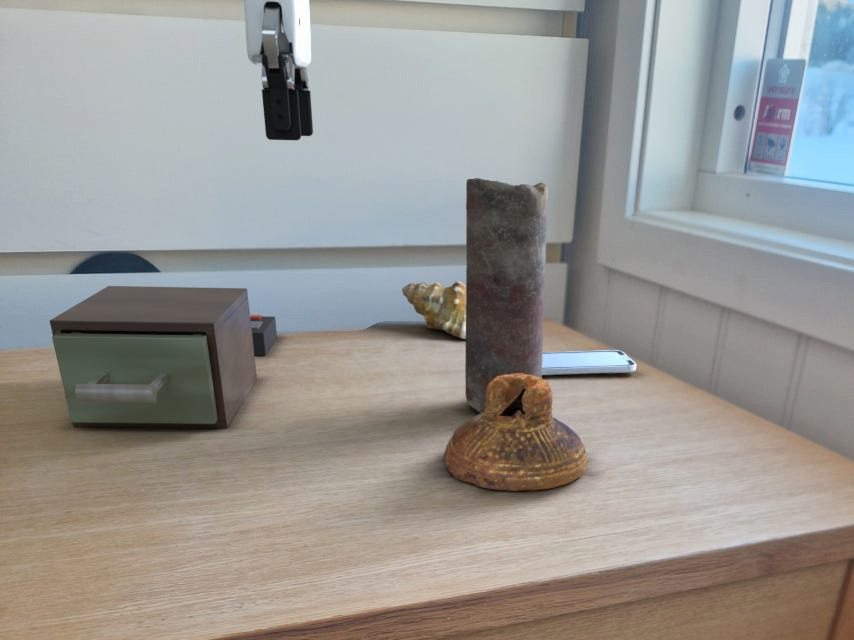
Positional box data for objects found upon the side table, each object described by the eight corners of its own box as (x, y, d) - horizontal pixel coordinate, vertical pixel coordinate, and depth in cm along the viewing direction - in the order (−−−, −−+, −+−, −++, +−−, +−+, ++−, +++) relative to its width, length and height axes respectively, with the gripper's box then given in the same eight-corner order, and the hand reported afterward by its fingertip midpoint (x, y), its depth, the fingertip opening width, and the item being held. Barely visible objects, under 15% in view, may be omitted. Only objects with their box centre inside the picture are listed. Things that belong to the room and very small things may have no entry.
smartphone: (493, 353, 101) (620, 349, 103) (493, 362, 101) (620, 358, 103) (503, 370, 95) (638, 365, 96) (503, 379, 95) (637, 374, 97)
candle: (451, 401, 87) (452, 175, 77) (515, 393, 90) (525, 174, 80) (486, 424, 82) (493, 182, 71) (554, 414, 85) (570, 181, 74)
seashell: (425, 365, 111) (390, 288, 108) (439, 360, 118) (406, 288, 115) (491, 333, 108) (457, 253, 105) (501, 330, 115) (469, 255, 113)
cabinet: (227, 428, 79) (213, 322, 74) (72, 426, 78) (49, 320, 74) (257, 380, 92) (247, 288, 87) (125, 378, 92) (107, 285, 87)
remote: (265, 356, 101) (263, 329, 99) (228, 355, 100) (225, 329, 99) (277, 338, 108) (274, 313, 106) (242, 338, 108) (239, 313, 106)
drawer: (200, 446, 72) (187, 355, 68) (46, 445, 72) (23, 353, 68) (245, 378, 89) (236, 303, 86) (121, 377, 89) (106, 301, 85)
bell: (616, 471, 72) (626, 382, 68) (509, 507, 65) (513, 410, 62) (518, 434, 80) (522, 352, 76) (413, 462, 73) (411, 374, 69)
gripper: (247, -71, 85) (266, 133, 94) (209, -106, 70) (236, 140, 79) (326, -69, 85) (337, 135, 94) (304, -102, 71) (319, 142, 80)
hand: (291, 137), depth 87 cm, fingers open, 9 cm apart
